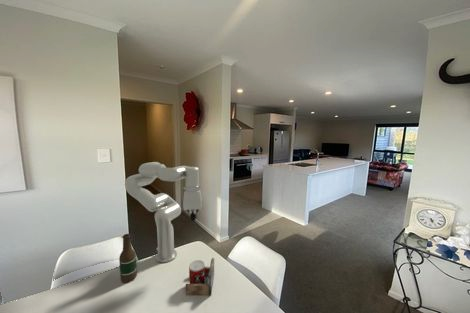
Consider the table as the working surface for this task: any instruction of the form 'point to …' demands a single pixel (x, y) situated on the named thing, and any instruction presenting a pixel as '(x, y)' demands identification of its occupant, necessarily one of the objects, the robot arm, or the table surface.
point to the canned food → (197, 272)
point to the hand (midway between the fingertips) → (193, 219)
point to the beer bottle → (127, 261)
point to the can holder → (202, 288)
